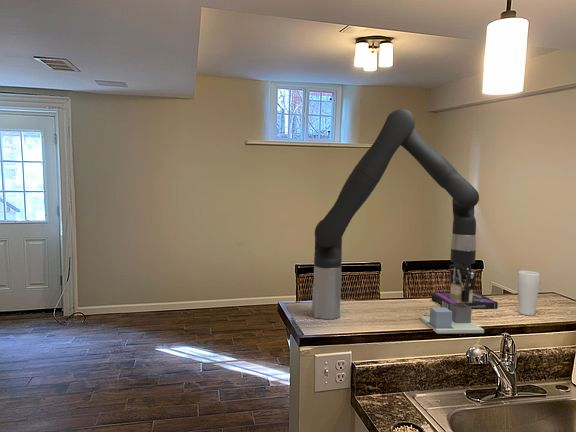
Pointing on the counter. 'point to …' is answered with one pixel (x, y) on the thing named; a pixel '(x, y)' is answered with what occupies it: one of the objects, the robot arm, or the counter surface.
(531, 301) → the drinking glass
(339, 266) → the robot arm
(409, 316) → the counter surface
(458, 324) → the build plate
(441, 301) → the box
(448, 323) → the slate block
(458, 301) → the maple block
